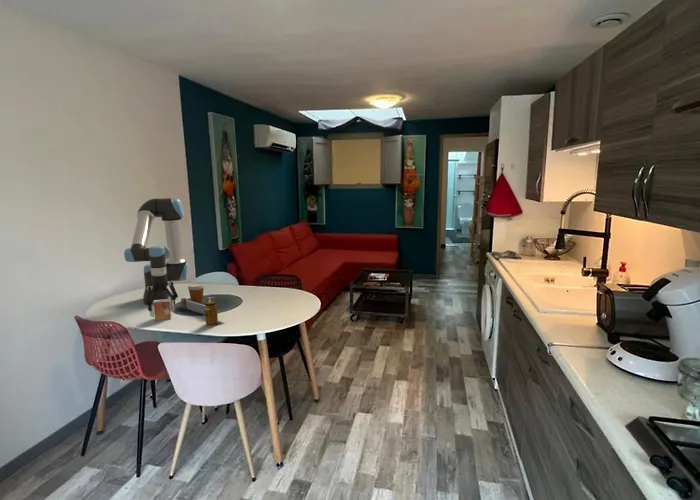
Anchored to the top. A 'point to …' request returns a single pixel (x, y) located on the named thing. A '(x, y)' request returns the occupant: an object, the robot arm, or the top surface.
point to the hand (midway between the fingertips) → (162, 313)
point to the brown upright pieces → (183, 303)
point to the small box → (162, 309)
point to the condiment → (211, 314)
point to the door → (195, 306)
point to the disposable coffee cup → (196, 292)
